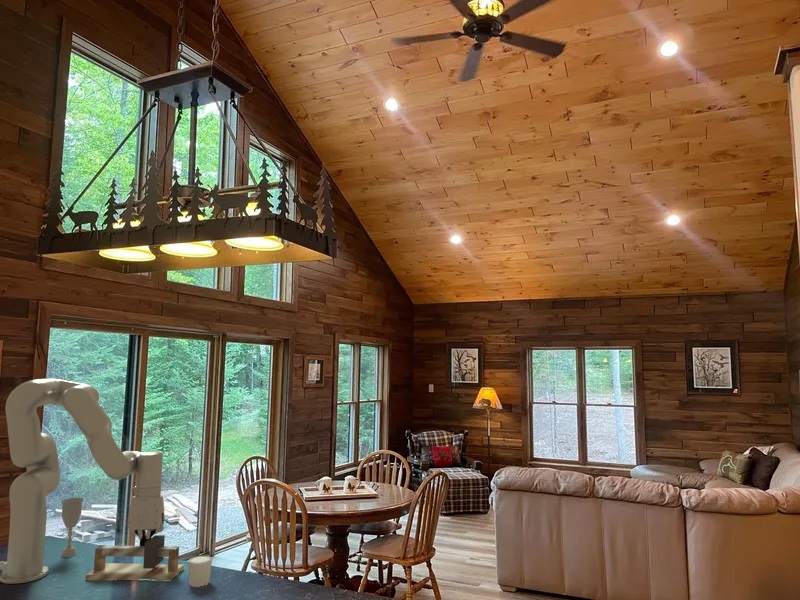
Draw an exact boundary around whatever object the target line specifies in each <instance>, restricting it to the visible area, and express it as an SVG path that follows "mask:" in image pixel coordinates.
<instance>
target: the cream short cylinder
mask: <svg viewBox="0 0 800 600" xmlns="http://www.w3.org/2000/svg"><path fill="white" fill-rule="evenodd" d="M212 563H213V557H212V556H210V555H197V556H193V557H191V558H189V559H188V577H189V581H188V582H189V586H191V587H192V588H201V587H200V586H202V587H205V586H207V585H209V584H208V583H210V581H211V580H210V578H211V572H212ZM204 585H205V586H204Z"/></svg>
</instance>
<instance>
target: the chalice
mask: <svg viewBox="0 0 800 600" xmlns="http://www.w3.org/2000/svg"><path fill="white" fill-rule="evenodd" d="M83 502H84V498H83V497H70V498H65V499H62V500H60V503H61V507H62V508H61V518H62V522H63V523H64V526H65V528H66V529H68V532H67V536H68V537H67V540H66V541H67V546H66V547H64V548H63V549H62V551H61V554H59V556H60V557H61V558H69V557H74V556H77V554H78V552H77V550H76V547H75V546H73V545H72V540H73V539H74V538H72V536H73V534H74V533H73V528H76V527H77V524H78V522H79V520H80V518H81V516H82V505H83Z"/></svg>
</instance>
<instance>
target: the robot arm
mask: <svg viewBox="0 0 800 600" xmlns="http://www.w3.org/2000/svg"><path fill="white" fill-rule="evenodd" d="M99 400H100V393H99V391H98V389H96V387H94V386H93V385H90V384H86V383H82V382H81V383H79V382H75V381H68V380H63V379H58V378H36V379H35V378H34V379H31V380H27V381H25V382H23V383H21V384H19V385H18V386H16V387H15V388H14V389H13V390H11V392H10V394H9V395H8V397H7V399H6V403H5V417H6V425H7V435H8V444H9V453H10V459H11V462H12V464H13V465H15V466H16V467H18V468H26V471H25V472H23V473H21V474H19V475H18V476H17V477H16V478H15V479H14V480H13V482H12V484H11V485H10V488H9V505H10V506H9V507H10V518H9V519H10V520H9V531H8V544H7V545H8V547H7V558H6V559H7V560H6V561H0V571H1V572H2V573H1V574H0V582H1V583H2V584H8V585H9V584H10V585H15V584H24V583H29V582H33V581H36V580H37V581H38V580H40V579H43V578H44V577H45V576H47V575H48V573H49V567H48V566H46V565H44V560H45V559H44V558H45V545H46V544H45V543H46V529H47V516H48V515H47V513H48V512H47V511H48V509H47V502H46V501H47V500H46V496H49V495H50V494H51V493H53V492H54V491H55V490H56V489H57V488H58V486H59V485H60V481H61V471H60V465H59V464H60V462H59V455H58V447H57V446H58V445H57V442H56V441H55V439H54V438H53V437H52V436H51V435H49V434H47V433H46V432H45V433H44V432H42V431H41V430H42V429H41V421H40V417H39V414H38V413H37V412H38V411H37V408H38V407H42V406H47V405H52V406H59V407H63V409H64V410H65V411H66V413H67V414H68V415H69V416H70V418H71V419H72V421H73V422H74V423H75V425H77V427H78V428H79V429H80V432H81V433H82V434H83V435H84V437H85V439H86V443H87V446H88V448H89V450H90V453H91V455H92V457H93V459H94V460H95V462H96V463H97V464H98V466H99V467H100V469H101V470H102V471H103V473H105V475H106V476H107V477H108V478H110V479H112V480H116V481H119V480H123V479H125V478H128V476H130V475H134V474H135V475H136V477H135V486H134V487H132V488H131V493H134V496H132V498H131V501H130V504H129V510H128V511H129V512H128V515H127V528H128V532H131V533H133V534H135V535H136V536H137V537H138V540H139V546H145V542H147V541H148V540H149V539H151V538H152V537H154V536H155V534H158V533H162V532H163V531H164V523H165V502H164V495H163V494H161V493H162V476H163V475H162V474H163V472H162V471H163V453H162V452H159V451H145V452H143V451H135V450H134V451H133V450H125V451H122V450H121V449H120V448H119V446H118V445H117V443H116V441H115V439H114V437H113V432H112V429H113V428H112V427H113V426H112V419H111V418H110V417H109V416H108V414H107V413H106V412H105V410H104V409H103V408H102V406H101V405H100V404H99Z"/></svg>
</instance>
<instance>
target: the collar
mask: <svg viewBox="0 0 800 600" xmlns="http://www.w3.org/2000/svg"><path fill="white" fill-rule="evenodd" d="M165 537H166V536H165V535H160V534H159V535H158V534H156V535H155V534H154V535H153V536H152V537H151V539H149V540H148V541H147V542H145V547H144V557H143V564H144V565H143V569H153V568H155V567H156V566H157V565H158V564H161V563H162V562H163V561H164V558H165V557H157V547H159V546H165V539H166V538H165Z"/></svg>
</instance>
